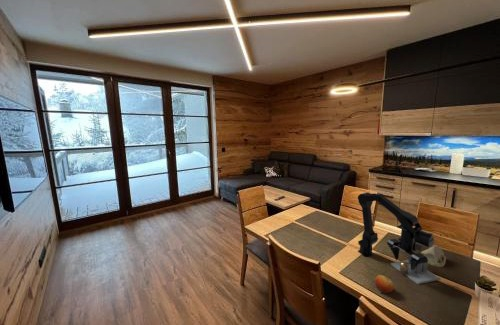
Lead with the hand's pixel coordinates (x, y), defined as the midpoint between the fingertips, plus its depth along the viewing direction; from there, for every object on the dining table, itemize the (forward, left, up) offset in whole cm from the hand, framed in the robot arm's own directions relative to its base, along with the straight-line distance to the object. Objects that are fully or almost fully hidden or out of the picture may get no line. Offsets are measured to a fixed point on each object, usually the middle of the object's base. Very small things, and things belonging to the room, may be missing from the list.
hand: (404, 264), depth 114 cm
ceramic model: (+28, +5, -6) cm, 29 cm away
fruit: (-20, -7, -6) cm, 22 cm away
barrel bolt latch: (+7, 0, -6) cm, 9 cm away
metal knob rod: (+7, 0, -4) cm, 8 cm away
